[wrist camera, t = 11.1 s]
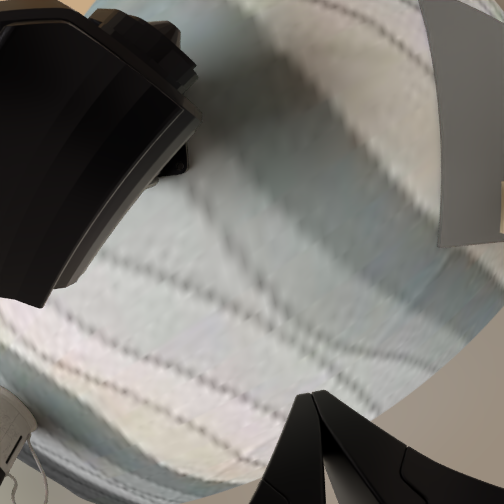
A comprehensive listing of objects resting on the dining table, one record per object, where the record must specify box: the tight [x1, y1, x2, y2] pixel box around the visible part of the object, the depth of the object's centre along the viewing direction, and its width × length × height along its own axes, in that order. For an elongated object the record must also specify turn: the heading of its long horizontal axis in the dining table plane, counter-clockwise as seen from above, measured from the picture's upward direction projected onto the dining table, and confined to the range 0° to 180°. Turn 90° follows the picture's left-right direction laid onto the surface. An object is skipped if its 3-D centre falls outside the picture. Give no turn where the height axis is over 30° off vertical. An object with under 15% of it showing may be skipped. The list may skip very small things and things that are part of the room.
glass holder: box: [0, 386, 48, 504], centre depth 19 cm, size 9×14×15 cm, turn 57°
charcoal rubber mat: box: [418, 0, 504, 248], centre depth 17 cm, size 22×14×1 cm, turn 4°
